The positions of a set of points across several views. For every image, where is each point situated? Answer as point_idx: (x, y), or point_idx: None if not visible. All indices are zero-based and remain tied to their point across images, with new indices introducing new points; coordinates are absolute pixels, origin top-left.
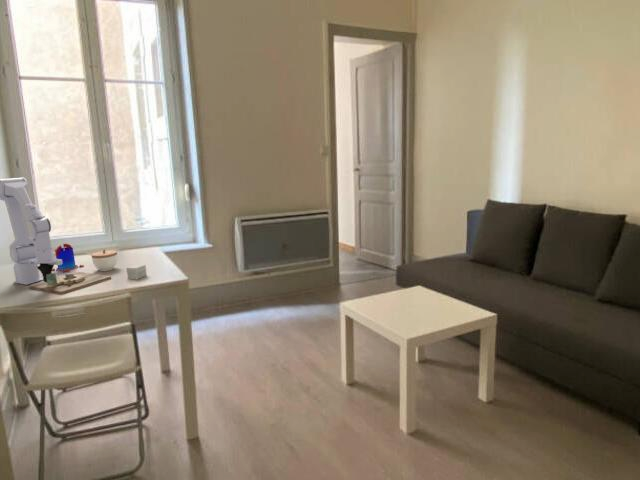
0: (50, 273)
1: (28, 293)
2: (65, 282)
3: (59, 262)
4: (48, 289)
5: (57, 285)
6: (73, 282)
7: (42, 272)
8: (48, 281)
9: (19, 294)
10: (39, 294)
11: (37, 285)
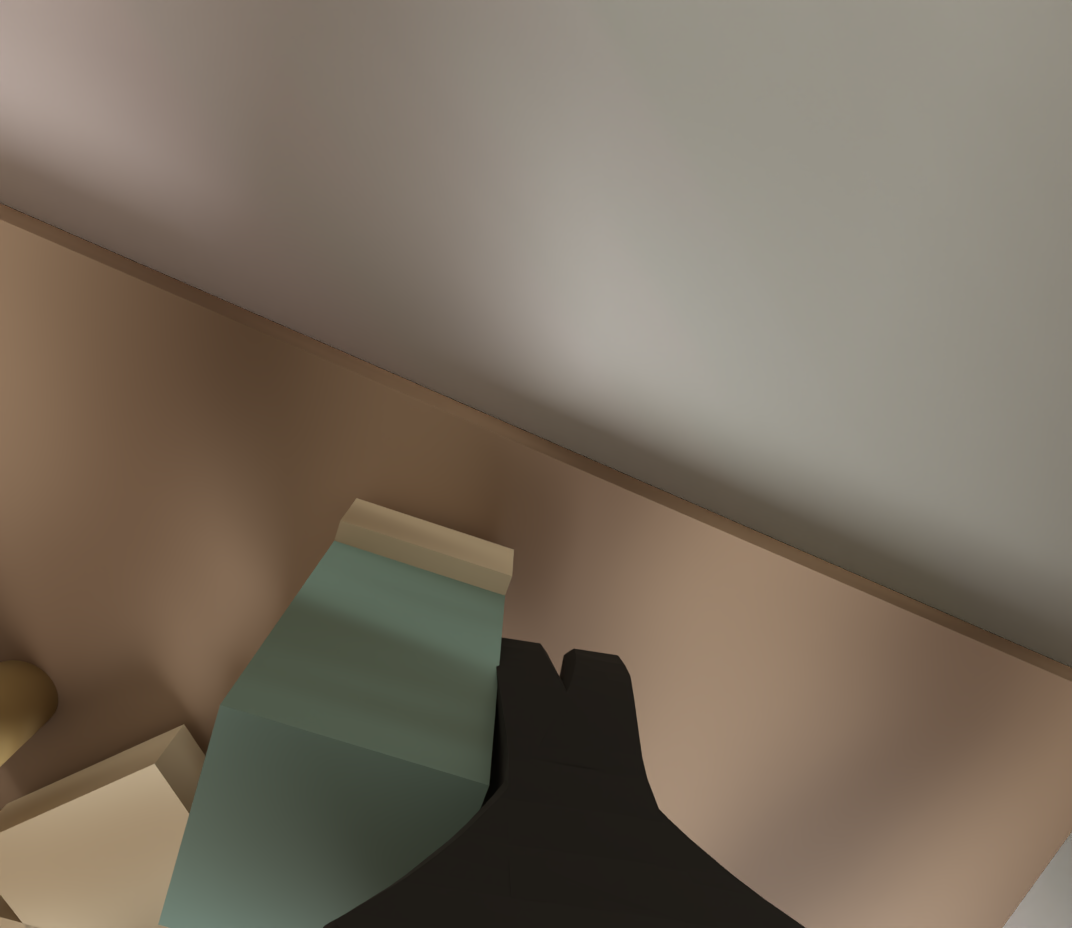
0: None
1: (857, 260)
2: (128, 764)
3: None
4: (358, 371)
5: None
6: None
7: (618, 828)
8: (436, 614)
9: (1064, 187)
10: (484, 154)
11: (904, 714)
